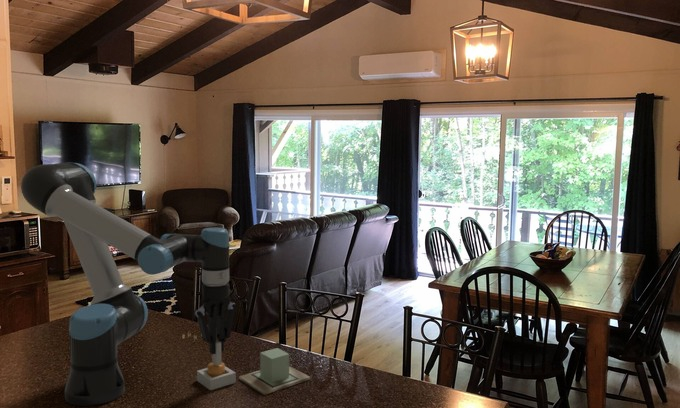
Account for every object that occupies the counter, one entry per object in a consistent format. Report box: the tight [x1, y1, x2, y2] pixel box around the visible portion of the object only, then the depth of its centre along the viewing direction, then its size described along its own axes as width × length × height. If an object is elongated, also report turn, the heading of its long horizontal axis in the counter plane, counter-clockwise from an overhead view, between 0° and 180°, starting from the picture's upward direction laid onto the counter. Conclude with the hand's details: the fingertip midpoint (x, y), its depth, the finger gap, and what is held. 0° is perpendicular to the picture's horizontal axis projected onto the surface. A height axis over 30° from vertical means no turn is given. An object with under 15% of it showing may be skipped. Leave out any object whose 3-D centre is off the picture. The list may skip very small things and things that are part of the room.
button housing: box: [196, 365, 237, 391], centre depth 165 cm, size 8×8×3 cm
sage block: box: [259, 347, 290, 382], centre depth 167 cm, size 6×6×7 cm
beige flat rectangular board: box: [238, 365, 311, 396], centre depth 167 cm, size 16×13×1 cm
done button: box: [207, 361, 226, 377], centre depth 164 cm, size 5×5×3 cm
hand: (216, 363), depth 164 cm, fingers closed
